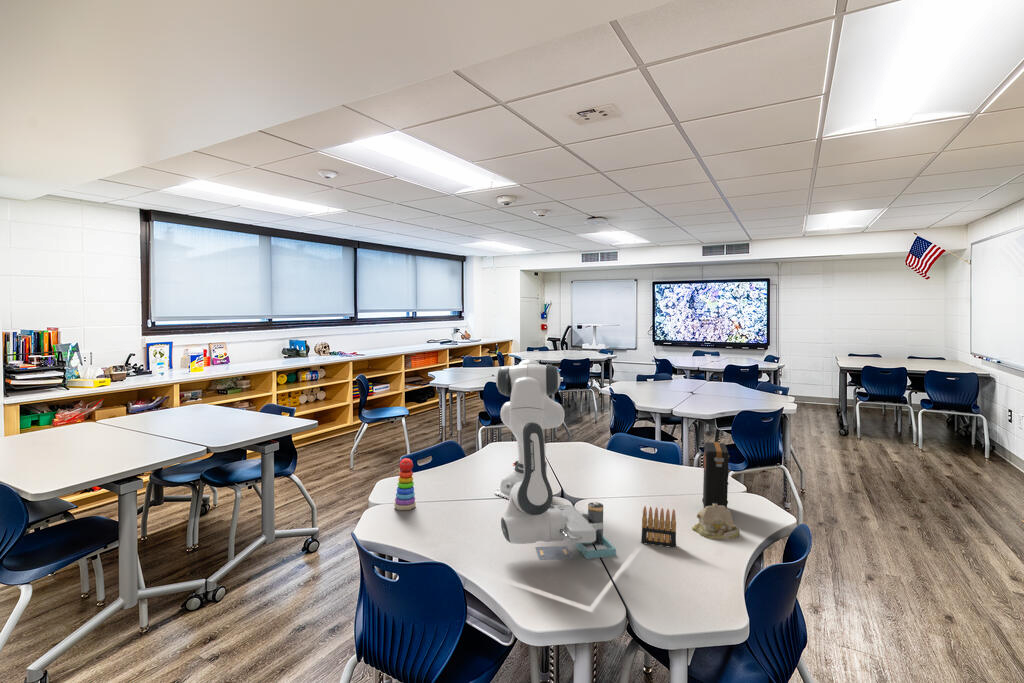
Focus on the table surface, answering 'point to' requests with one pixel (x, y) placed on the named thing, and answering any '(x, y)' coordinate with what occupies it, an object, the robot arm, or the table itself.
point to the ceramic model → (716, 523)
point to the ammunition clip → (659, 528)
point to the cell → (596, 519)
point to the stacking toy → (405, 487)
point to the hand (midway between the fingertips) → (598, 521)
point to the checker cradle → (553, 552)
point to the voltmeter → (715, 474)
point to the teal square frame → (597, 553)
